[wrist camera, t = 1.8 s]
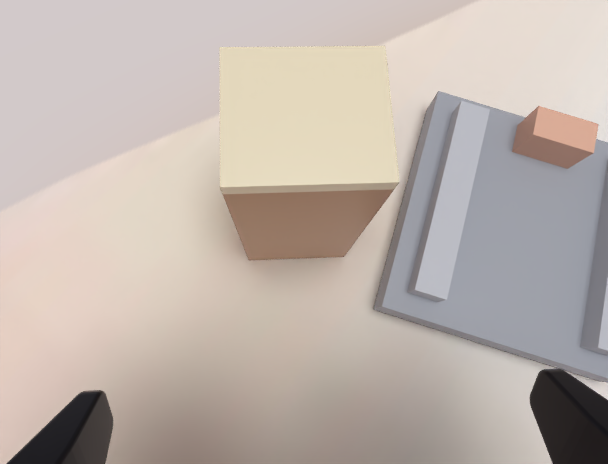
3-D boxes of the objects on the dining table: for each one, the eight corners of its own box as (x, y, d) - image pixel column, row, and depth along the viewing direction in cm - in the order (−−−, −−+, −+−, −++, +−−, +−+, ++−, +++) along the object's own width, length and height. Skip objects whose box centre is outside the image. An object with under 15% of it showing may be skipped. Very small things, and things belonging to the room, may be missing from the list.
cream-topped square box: (344, 256, 23) (399, 182, 12) (249, 260, 23) (219, 187, 12) (338, 178, 24) (385, 45, 13) (247, 180, 24) (219, 47, 13)
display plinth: (599, 381, 22) (665, 389, 19) (373, 309, 23) (392, 302, 19) (627, 171, 25) (689, 140, 21) (426, 110, 26) (452, 68, 22)
